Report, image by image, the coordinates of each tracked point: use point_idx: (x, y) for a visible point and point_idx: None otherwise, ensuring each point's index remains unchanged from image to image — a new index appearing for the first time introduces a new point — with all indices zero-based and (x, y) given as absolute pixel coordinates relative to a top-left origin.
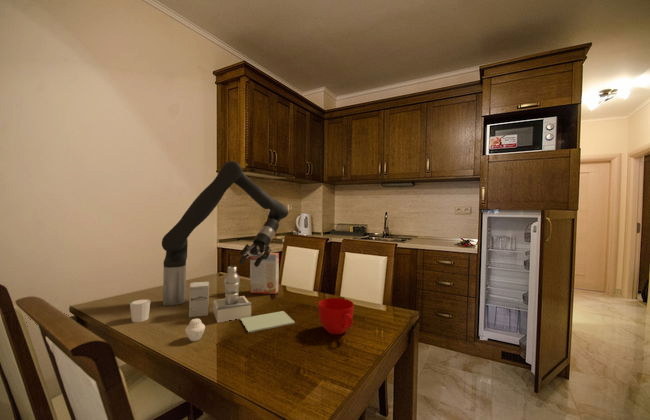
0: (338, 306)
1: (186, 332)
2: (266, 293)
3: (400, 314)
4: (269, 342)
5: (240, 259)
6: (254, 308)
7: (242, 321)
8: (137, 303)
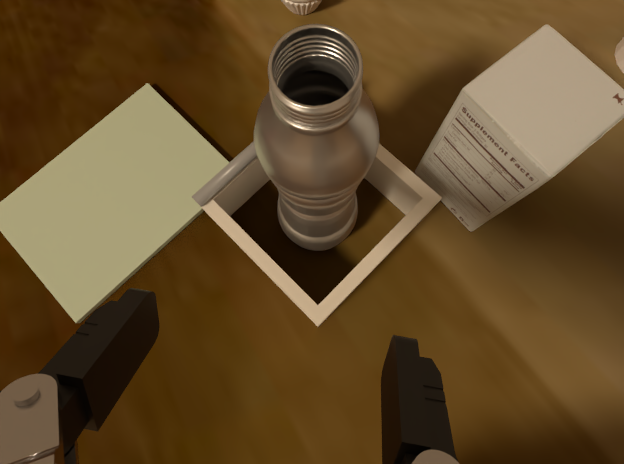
0: None
1: None
2: None
3: None
4: (48, 53)
5: (442, 396)
6: (252, 326)
7: (214, 148)
8: None
